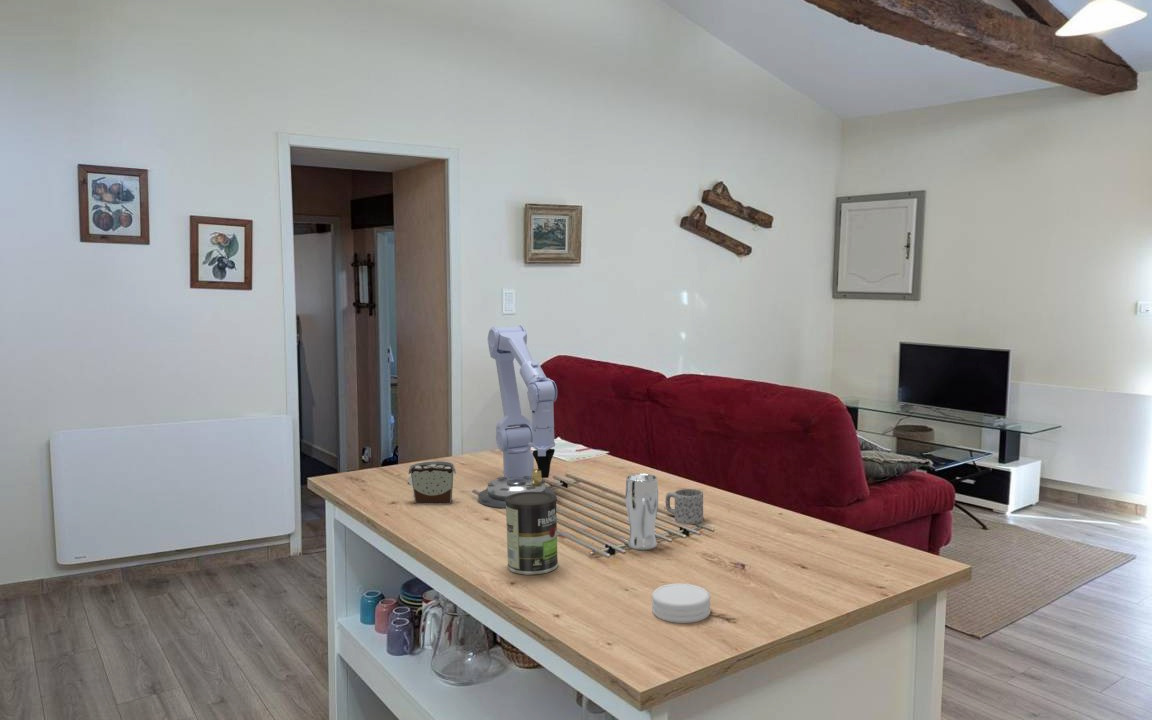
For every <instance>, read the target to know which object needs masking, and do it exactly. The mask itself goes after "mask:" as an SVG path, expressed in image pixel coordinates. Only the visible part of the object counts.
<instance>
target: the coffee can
mask: <svg viewBox="0 0 1152 720" xmlns="http://www.w3.org/2000/svg"><path fill="white" fill-rule="evenodd" d="M557 500H558V497H557V496H556V494H555V495H553V494H551V493H546V492H522V493H516V494H512V495H510V496H508V497H506V498H505V503H506V509H505V512H506V515H505V517H506V518H505V519H506V547H507V570H509V571H510V572H512V573H514V574H518V575H527V576H529V575H531V576H533V575H543V574H546V573H547V574H548V573H551V572H553V571H554V570H557V568H558V566H559V562H558V534H557V533H558V526H557V525H558V524H557V523H558V519H557V516H558V515H557Z"/></svg>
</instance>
